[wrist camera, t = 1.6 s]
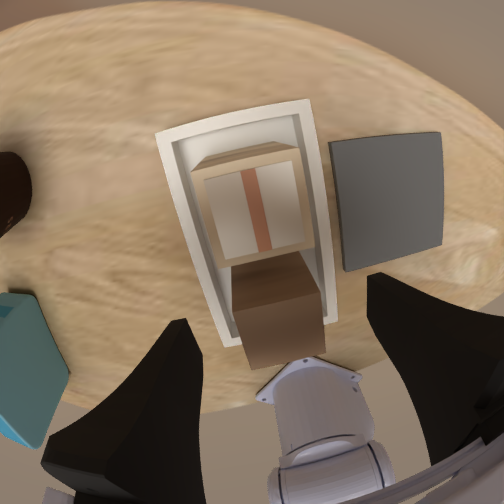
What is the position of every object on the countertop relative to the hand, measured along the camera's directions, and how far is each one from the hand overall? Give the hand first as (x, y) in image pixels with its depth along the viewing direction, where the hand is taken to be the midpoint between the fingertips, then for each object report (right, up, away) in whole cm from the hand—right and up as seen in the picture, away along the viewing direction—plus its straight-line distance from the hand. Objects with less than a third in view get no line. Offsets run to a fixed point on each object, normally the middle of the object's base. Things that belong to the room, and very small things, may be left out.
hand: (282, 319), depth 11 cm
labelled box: (-1, +7, +8) cm, 11 cm away
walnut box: (0, +1, +10) cm, 11 cm away
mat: (+10, +7, +9) cm, 15 cm away
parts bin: (-1, +4, +9) cm, 10 cm away
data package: (-24, -6, +13) cm, 28 cm away
